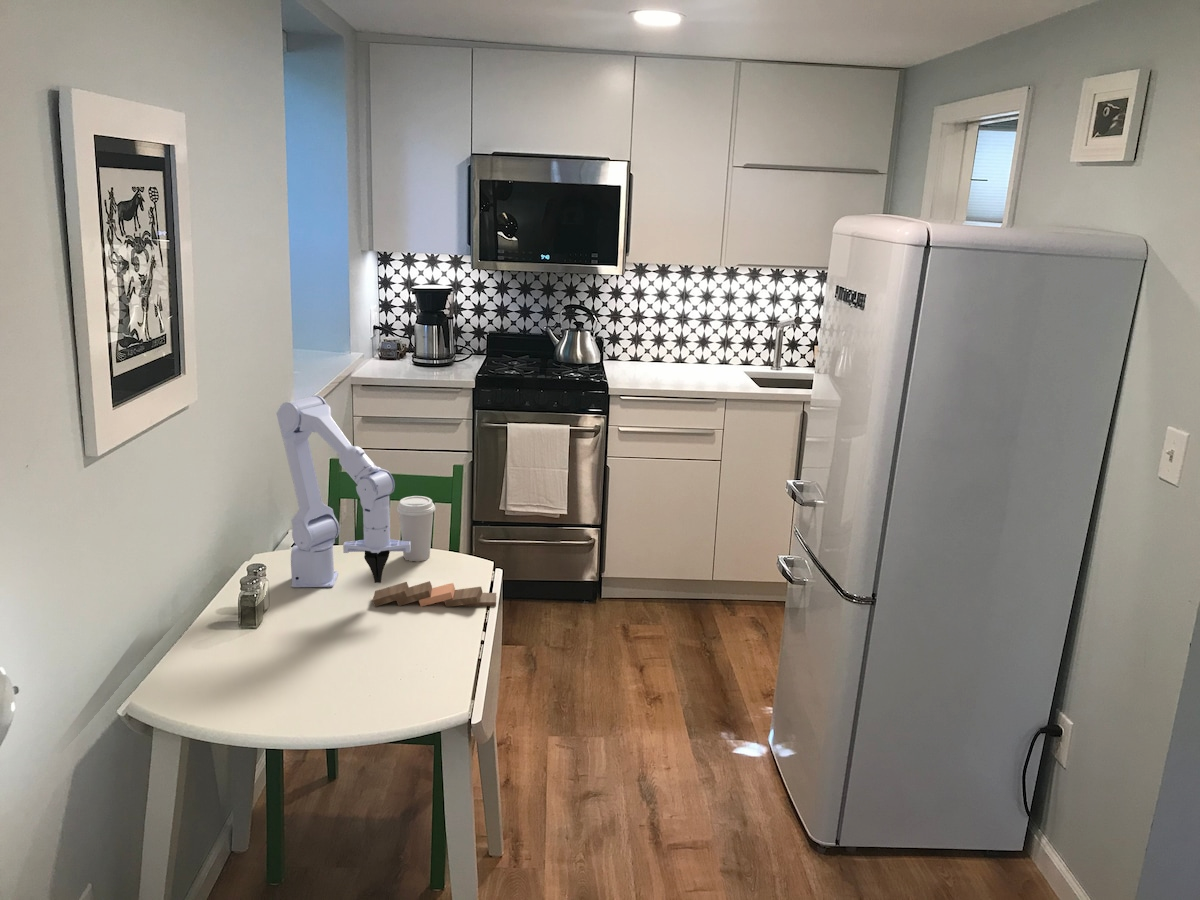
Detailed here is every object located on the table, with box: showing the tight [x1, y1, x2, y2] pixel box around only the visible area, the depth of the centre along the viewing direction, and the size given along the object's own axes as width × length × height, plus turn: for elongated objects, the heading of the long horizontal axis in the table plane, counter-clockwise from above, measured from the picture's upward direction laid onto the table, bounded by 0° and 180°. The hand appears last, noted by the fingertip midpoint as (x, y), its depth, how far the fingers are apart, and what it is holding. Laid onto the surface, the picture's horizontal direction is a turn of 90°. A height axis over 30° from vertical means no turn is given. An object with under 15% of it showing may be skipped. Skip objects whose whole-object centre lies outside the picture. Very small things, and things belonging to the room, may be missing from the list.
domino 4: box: [444, 586, 484, 608], centre depth 213 cm, size 2×5×8 cm
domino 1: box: [372, 581, 410, 608], centre depth 212 cm, size 2×5×8 cm
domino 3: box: [418, 582, 456, 608], centre depth 213 cm, size 2×5×8 cm
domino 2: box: [396, 580, 433, 607], centre depth 213 cm, size 2×5×8 cm
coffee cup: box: [396, 495, 436, 562], centre depth 236 cm, size 10×10×15 cm
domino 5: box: [462, 592, 497, 607], centre depth 215 cm, size 2×5×8 cm
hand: (378, 581), depth 211 cm, fingers closed
